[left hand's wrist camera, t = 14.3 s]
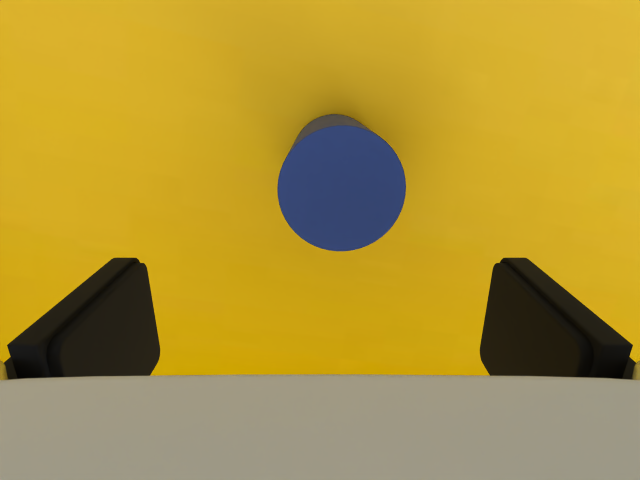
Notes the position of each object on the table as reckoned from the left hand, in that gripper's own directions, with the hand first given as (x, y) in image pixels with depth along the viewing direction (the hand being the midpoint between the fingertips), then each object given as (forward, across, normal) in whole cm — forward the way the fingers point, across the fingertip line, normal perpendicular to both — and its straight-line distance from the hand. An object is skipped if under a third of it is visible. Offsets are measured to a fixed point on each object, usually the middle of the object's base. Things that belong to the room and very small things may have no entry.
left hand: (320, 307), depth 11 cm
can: (+20, -1, -1) cm, 20 cm away
